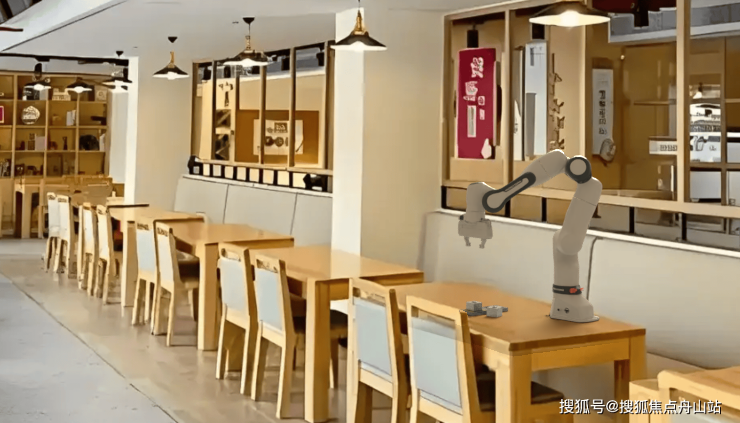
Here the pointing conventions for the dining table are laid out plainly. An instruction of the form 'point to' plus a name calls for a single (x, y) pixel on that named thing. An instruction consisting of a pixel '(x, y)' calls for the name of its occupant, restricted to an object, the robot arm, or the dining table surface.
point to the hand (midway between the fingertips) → (474, 247)
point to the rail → (483, 311)
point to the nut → (494, 311)
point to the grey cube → (474, 306)
